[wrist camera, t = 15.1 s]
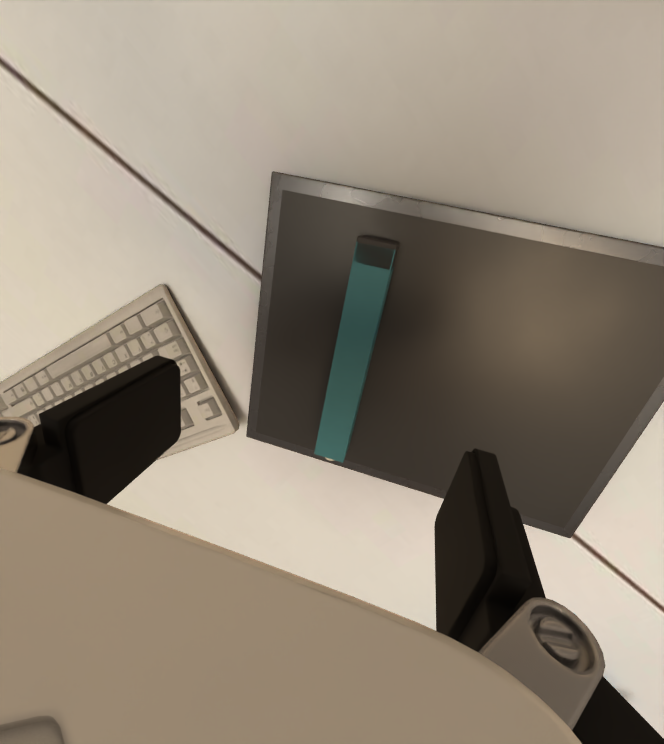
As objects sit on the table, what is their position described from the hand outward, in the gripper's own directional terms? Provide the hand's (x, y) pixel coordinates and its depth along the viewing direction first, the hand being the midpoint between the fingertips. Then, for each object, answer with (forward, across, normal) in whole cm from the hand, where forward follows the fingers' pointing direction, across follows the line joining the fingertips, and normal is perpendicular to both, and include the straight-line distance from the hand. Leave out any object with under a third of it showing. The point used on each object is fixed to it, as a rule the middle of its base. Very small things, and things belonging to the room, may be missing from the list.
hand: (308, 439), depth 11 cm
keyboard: (+10, +21, +12) cm, 27 cm away
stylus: (+9, 0, +1) cm, 9 cm away
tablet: (+10, -4, 0) cm, 11 cm away
